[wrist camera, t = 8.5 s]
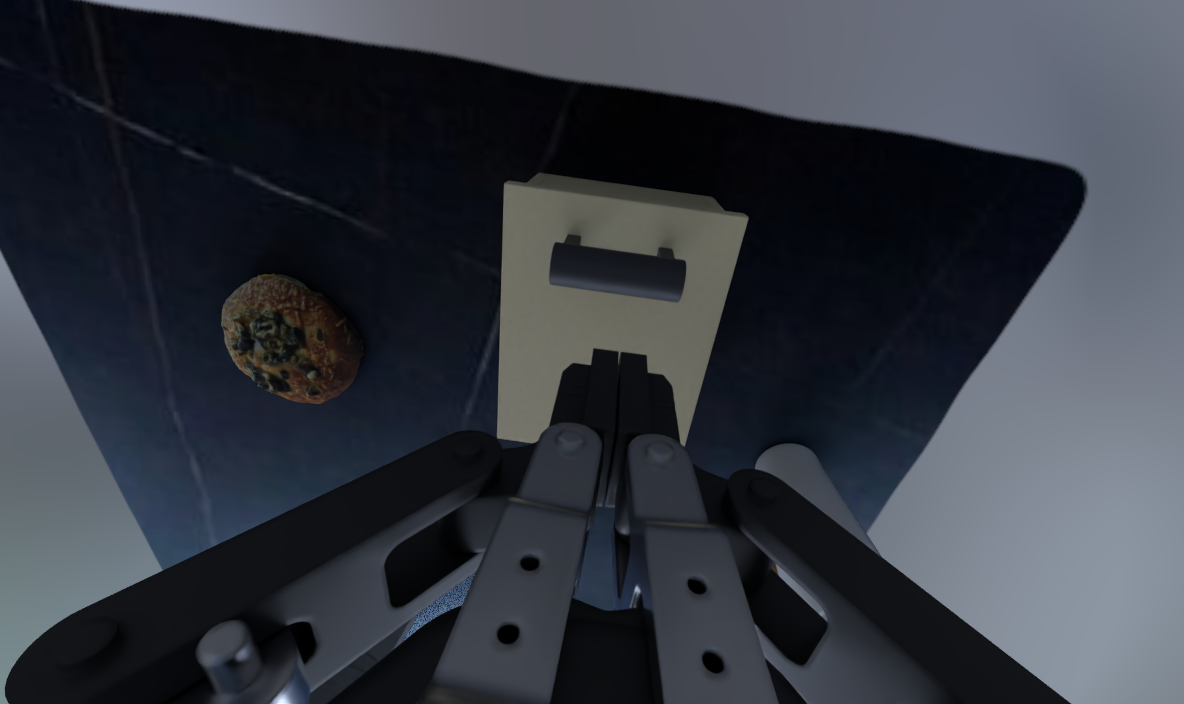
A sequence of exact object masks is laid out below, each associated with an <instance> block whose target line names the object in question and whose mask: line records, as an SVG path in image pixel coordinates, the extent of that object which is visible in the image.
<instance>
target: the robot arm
mask: <svg viewBox="0 0 1184 704" xmlns="http://www.w3.org/2000/svg"><path fill="white" fill-rule="evenodd" d="M618 361H619V364H618ZM606 481H607V483H606ZM605 487H606V499H605V507H610V508H615V516H614V524H613V529H612V534H611V545H612V567H613V589H614V611H606V610H602V609H599V608H596V607H594V606H591V605H589V604H586V603H584V602H582V601H579V600H577V599H576V598H577V593H578V588H579V583H580V577H581V572H582V567H583V561H584V556H585V551H586V546H587V540H588V535H589V529H590V527H591V526H592V524H593V521H594V515H595V509H596V506H601V507H602V505H603V499H604V493H605ZM774 562H775V563H776V564H777V565H778V566H779V567H780V568H781V569H782V570H783V571H784V572H786V573H787V574H788V575H789V576H790V577H791V578H792V579H793V580H794V581H795V582H796V583H797V584H798V585H799V586H801V587H802V588H803V589H804V590H805V591H806V592H807V593H808V594H809V595H810V596H811V597H812V598H813V599H815V601H816V602H817V603H818V604H819V605H820V606H821V608H822V609H823V611H824V613H825V615H826V618H827V621H828V622H827V621H826V620H825V619H824V618H823V617H822V616H820V615H819V614H818V613H817V612H816V611H815V610H814V609H813V608H812V607H811V606H810V605H809V604H808V603H807V602H806V601H805V600H804V599H803V598H802V597H801V596H799V595H798V594H797V593H796V592H795V591H794V590H793V589H792V588H791V587H790V586H789V585H788V584H787V583H786V582H785V581H784V580H783V579H782V578H781V577H779V576H778V575H777V574H776V573H775V572H774V571H773V570H772V569H771V568H772V565H773V563H774ZM475 571H476V574H475V576H474V579H473V581H472V584H471V586H470V588H469V591H468V593H467V596H466V598H465V600H464V603H463V605H462V606H459V607H457V608H454V609H452V610H450V611H448V612H446V613H444V614H442V615H440V616H438V617H436V618H435V619H433V620H432V621H430V622H428V623H427V624H425V625H424V626H422V627H421V628H420V629H418V630H417V631H416V632H415V633H413V634H412V635H411V636H410V637H408V638H407V639H406V640H405V641H403V642H402V643H401V644H400V645H399V646H397V647H396V648H395V649H394V650H392V651H391V652H390V653H389V654H387V655H386V656H385V657H384V658H382V659H381V660H380V661H379V662H377V663H376V664H375V665H374V666H373V667H371V668H370V669H369V670H368V671H366V672H365V673H364V674H363V675H361V676H360V677H359V678H358V679H356V680H355V681H354V682H353V683H351V684H350V685H349V686H348V687H346V688H345V689H344V690H343V691H342V692H340V693H339V694H338V695H337V696H335V697H334V698H333V699H332V700H330V701H329V702H328V703H327V704H1071V703H1069V702H1068V701H1067V700H1065V699H1064V698H1063V697H1062V696H1060V695H1059V694H1058V693H1056V692H1055V691H1054V690H1053V689H1051V688H1050V687H1049V686H1047V685H1046V684H1045V683H1044V682H1042V681H1041V680H1040V679H1038V678H1037V677H1036V676H1034V675H1033V674H1032V673H1030V672H1029V671H1028V670H1027V669H1025V668H1024V667H1023V666H1021V665H1020V664H1019V663H1017V662H1016V661H1015V660H1014V659H1013V658H1011V657H1010V656H1008V655H1007V654H1006V653H1005V652H1003V651H1002V650H1001V649H999V648H998V647H997V646H996V645H994V644H993V643H992V642H991V641H989V640H988V639H987V638H985V637H984V636H983V635H982V634H980V633H979V632H978V631H976V630H975V629H974V628H972V627H971V626H970V625H969V624H967V623H966V622H965V621H963V620H962V619H960V618H959V617H958V616H957V615H956V614H954V613H953V612H951V611H950V610H949V609H948V608H947V607H945V606H944V605H943V604H941V603H940V602H939V601H938V600H936V599H935V598H934V597H932V596H931V595H930V594H928V593H927V592H926V591H925V590H923V589H922V588H921V587H919V586H918V585H917V584H916V583H914V582H913V581H912V580H910V579H909V578H908V577H906V576H905V575H904V574H903V573H901V572H900V571H899V570H898V569H896V568H895V567H893V566H892V565H891V564H890V563H888V562H887V561H886V560H885V559H883V558H882V557H881V556H879V555H878V554H877V553H876V552H874V551H873V550H872V549H870V548H869V547H868V546H866V545H865V544H864V543H863V542H861V541H860V540H859V539H857V538H856V537H855V536H854V535H852V534H851V533H850V532H848V531H847V530H846V529H845V528H843V527H842V526H841V525H839V524H838V523H837V522H835V521H834V520H833V519H832V518H830V517H829V516H828V515H826V514H825V513H824V512H823V511H821V510H820V509H819V508H817V507H816V506H815V505H813V504H812V503H811V502H810V501H808V500H807V499H806V498H804V497H803V496H802V495H801V494H799V493H798V492H797V491H795V490H794V489H793V488H792V487H790V486H789V485H788V484H786V483H785V482H784V481H782V480H781V479H779V478H778V477H776V476H774V475H772V474H770V473H768V472H765V471H762V470H757V469H742V470H738V471H736V472H735V473H733V474H732V475H731V476H730V478H729V480H727V479H724V478H721V477H719V476H716V475H713V474H711V473H708V472H706V471H704V470H702V469H700V468H699V467H697V466H696V465H694V464H693V463H692V460H691V456H690V454H689V452H688V451H687V449H686V448H685V447H684V446H683V445H682V444H681V443H680V436H679V429H678V422H677V415H676V410H675V401H674V394H673V388H672V385H671V384H670V382H669V381H668V380H667V379H666V377H665V376H664V375H662V374H655V373H648V367H647V355H643V354H636V353H628V352H621V353H620V358H619V351H612V350H605V349H597V348H593V355H592V361H591V365H586V364H578V363H572V364H570V365H569V366H568V367H567V368H566V369H565V370H564V371H563V372H562V376H561V380H560V385H559V388H558V392H557V396H556V400H555V404H554V408H553V412H552V416H551V420H550V424H549V427H548V428H547V429H545V430H544V431H543V432H542V433H541V435H540V437H539V440H538V441H536V442H535V443H532V444H530V445H527V446H523V447H517V448H507V449H502V447H501V444H500V443H499V441H498V440H497V439H496V438H495V437H493V436H492V435H490V434H488V433H485V432H481V431H473V430H468V431H460V432H456V433H453V434H450V435H448V436H446V437H444V438H442V439H439V440H437V441H435V442H433V443H431V444H429V445H427V446H425V447H423V448H420V449H418V450H416V451H414V452H412V453H410V454H408V455H406V456H404V457H401V458H399V459H397V460H395V461H393V462H391V463H389V464H387V465H385V466H382V467H380V468H378V469H376V470H374V471H372V472H370V473H368V474H366V475H364V476H361V477H359V478H357V479H355V480H353V481H351V482H349V483H347V484H345V485H342V486H340V487H338V488H336V489H334V490H332V491H330V492H328V493H326V494H323V495H321V496H319V497H317V498H315V499H313V500H311V501H309V502H307V503H304V504H302V505H300V506H298V507H296V508H294V509H292V510H290V511H288V512H285V513H283V514H281V515H279V516H277V517H275V518H273V519H271V520H269V521H267V522H264V523H262V524H260V525H258V526H256V527H254V528H252V529H250V530H248V531H245V532H243V533H241V534H239V535H237V536H235V537H233V538H231V539H229V540H226V541H224V542H222V543H220V544H218V545H216V546H214V547H212V548H210V549H207V550H205V551H203V552H201V553H199V554H197V555H195V556H193V557H191V558H188V559H186V560H184V561H182V562H180V563H178V564H176V565H174V566H172V567H170V568H167V569H165V570H163V571H161V572H159V573H157V574H155V575H153V576H151V577H148V578H146V579H144V580H142V581H140V582H138V583H136V584H134V585H132V586H129V587H127V588H125V589H123V590H121V591H119V592H117V593H115V594H113V595H111V596H108V597H106V598H104V599H102V600H100V601H98V602H96V603H94V604H92V605H89V606H87V607H85V608H83V609H81V610H79V611H77V612H75V613H73V614H71V615H70V616H68V617H67V618H65V619H63V620H62V621H60V622H58V623H57V624H56V625H54V626H53V627H51V628H50V629H49V630H47V631H46V632H45V633H43V634H42V635H41V636H40V637H39V638H38V639H36V640H35V641H34V642H33V643H32V644H31V645H30V646H29V647H28V648H27V649H26V650H25V652H24V653H23V654H22V655H21V656H20V658H19V659H18V660H17V661H16V663H15V665H14V666H13V668H12V669H11V671H10V673H9V676H8V678H7V681H6V685H5V697H6V699H7V701H8V703H9V704H309V699H310V693H311V692H312V691H314V690H315V689H316V688H318V687H319V686H320V685H322V684H323V683H324V682H326V681H327V680H329V679H330V678H331V677H333V676H334V675H335V674H337V673H338V672H339V671H341V670H342V669H344V668H345V667H346V666H348V665H349V664H350V663H352V662H353V661H354V660H356V659H357V658H358V657H360V656H361V655H363V654H364V653H365V652H367V651H368V650H369V649H371V648H372V647H373V646H375V645H376V644H378V643H379V642H380V641H382V640H383V639H384V638H386V637H387V636H388V635H390V634H391V633H392V632H394V631H395V630H397V629H398V628H399V627H401V626H402V625H403V624H405V623H406V622H407V621H409V620H410V619H412V618H413V617H414V616H416V615H417V614H418V613H420V612H421V611H422V610H424V609H425V608H426V607H428V606H429V605H431V604H432V603H433V602H435V601H436V600H437V599H439V598H440V597H441V596H443V595H444V594H446V593H447V592H448V591H450V590H451V589H452V588H454V587H455V586H456V585H458V584H459V583H461V582H462V581H463V580H465V579H466V578H467V577H469V576H470V575H471V574H473V573H474V572H475Z"/></svg>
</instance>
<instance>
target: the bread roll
mask: <svg viewBox="0 0 1184 704" xmlns="http://www.w3.org/2000/svg"><path fill="white" fill-rule="evenodd" d="M221 325H222V327H223V330H224V334H225V339H224V340H225V344H226V346H227V348H228V350H229V353H230V355H231V357H232V359H233V361H234V362H235V363H236V365H237V366H238V368H239V369H241V370H242V371H243V372H244V373H245V374H246V375H248V376H250V377H251V378H252V380H253V381H255V382H259V384H258V386H261V387H262V388H264V389H265V390H267V391H269V392H271V393H275V394H277V395H279V396H282V397H285V398H287V399H289V400H294V401H296V402H302V403H315V404H321V403H323V402H324V401H328V400H329V399H331V398H333V397H336V396H338V395H340V394H341V393H342V392H344V391H345V390H346V389H347V388H348V387H349V386H350V385H351V384H352V383H353V381H354V380H355V379H354V377H355V376H356V374H357V372H358V369H359V364H360V361H361V360H362V357H363V356H364V353H365V352H364V350H365V349H364V346H363V341H362V340H361V338H360V336H359V334H358V332H357V330H356V329H355V326H354V324H353V323H352V322H351V321H350V322H349V321H348V320H347V318H346V315H345V314H344V313H343V312H342V311H341V309H340V308H338V307H337V306H336V305H335V304H334V303H332V302H331V301H330V300H329V299H327V297H325V296H323V294H322V293H319V292H313V291H311V290H309V289H308V287H307V286H305V284H303V283H302V282H300V281H298V280H296V279H294V278H291V277H288V276H284V275H281V274H280V275H279V274H278V275H275V274H272V275H268V274H263V275H258V277H255V278H252V280H250V281H249V282H246V283H244V284H242V285H241V286H240V287H239V288H238V289H237V290H235V291H234V292H233V294H232V295H231V296H230V297H228V298H227V300H226V301H225V304H224V305H223V309H222V322H221ZM363 352H364V353H363Z"/></svg>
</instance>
